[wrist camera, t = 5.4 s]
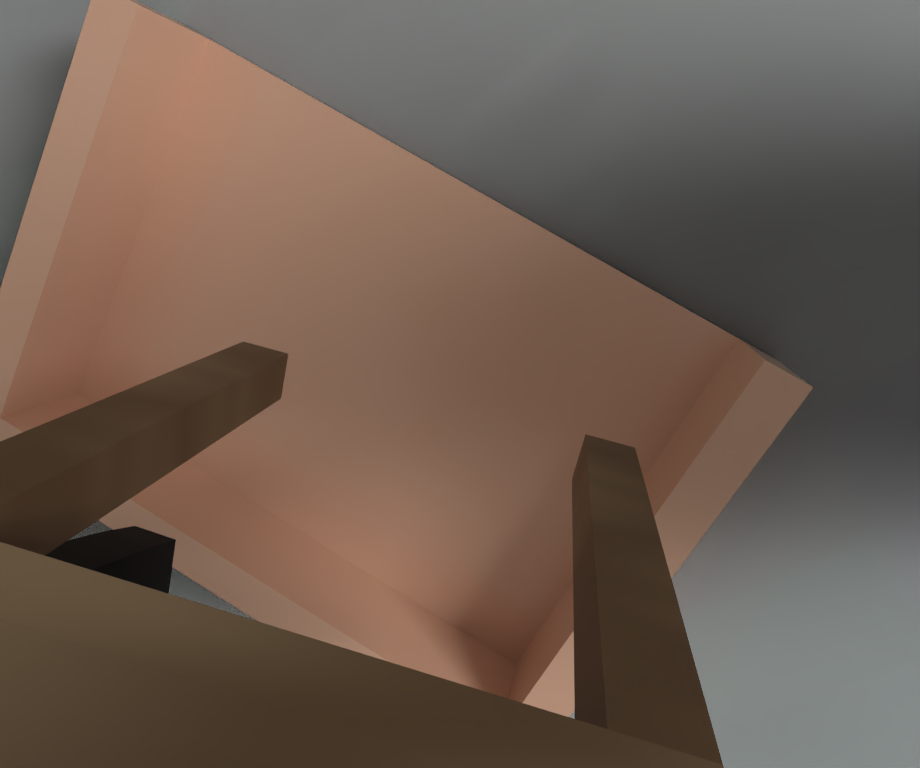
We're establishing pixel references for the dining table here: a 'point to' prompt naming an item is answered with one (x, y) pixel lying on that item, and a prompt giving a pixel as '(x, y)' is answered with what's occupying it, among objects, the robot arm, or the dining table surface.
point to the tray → (358, 361)
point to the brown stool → (294, 655)
